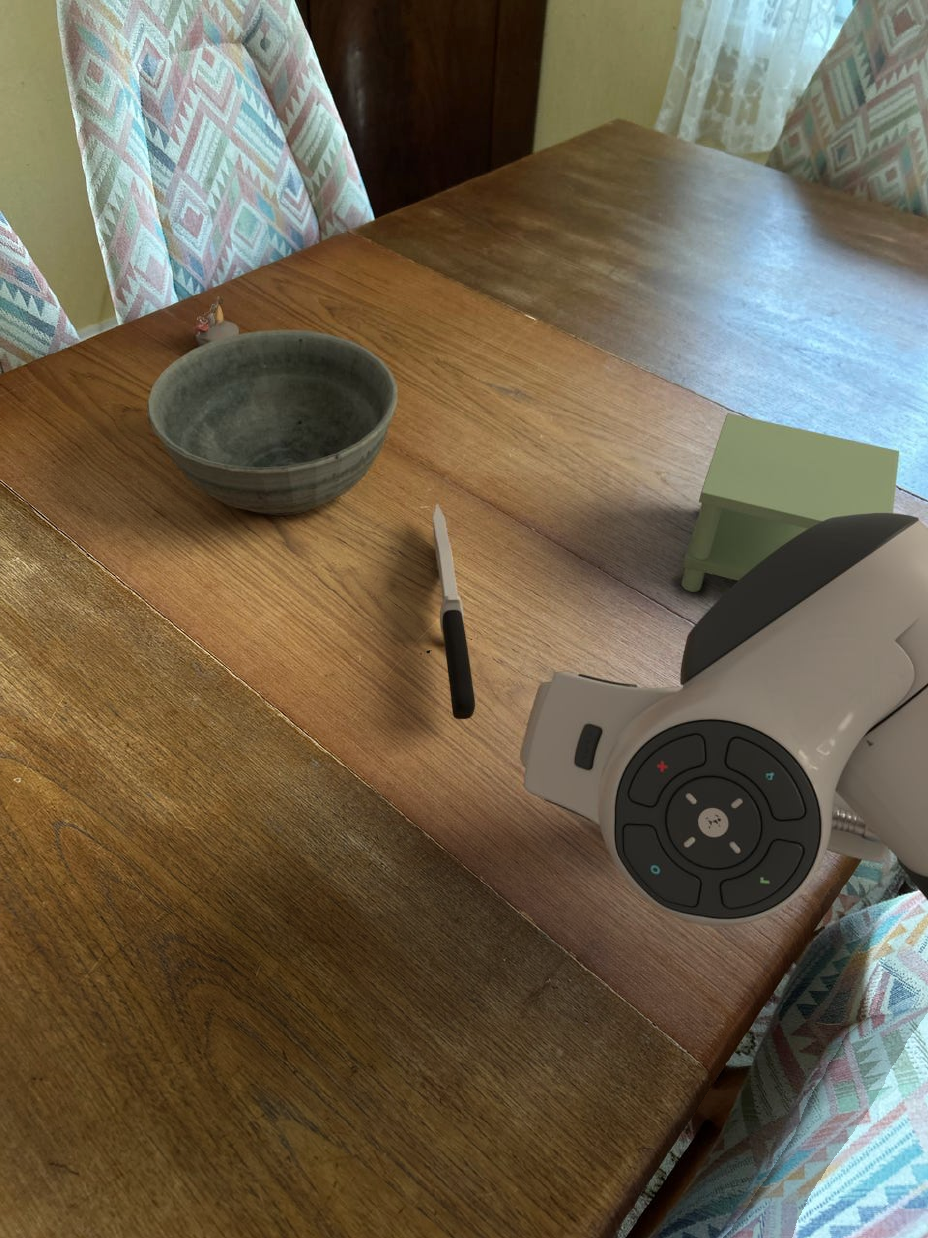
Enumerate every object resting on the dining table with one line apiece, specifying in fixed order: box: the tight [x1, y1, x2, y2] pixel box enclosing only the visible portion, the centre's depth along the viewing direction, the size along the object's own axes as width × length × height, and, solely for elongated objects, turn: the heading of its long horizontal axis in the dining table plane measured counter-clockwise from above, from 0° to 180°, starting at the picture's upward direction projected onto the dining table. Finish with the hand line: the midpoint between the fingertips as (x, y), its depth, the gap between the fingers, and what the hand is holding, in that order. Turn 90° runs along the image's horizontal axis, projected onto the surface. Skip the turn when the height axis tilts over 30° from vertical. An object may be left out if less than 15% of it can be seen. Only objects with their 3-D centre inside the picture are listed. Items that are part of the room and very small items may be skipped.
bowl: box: [147, 329, 399, 516], centre depth 91 cm, size 21×21×10 cm
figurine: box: [195, 294, 240, 347], centre depth 109 cm, size 5×4×6 cm
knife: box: [432, 503, 476, 720], centre depth 81 cm, size 25×2×5 cm, turn 5°
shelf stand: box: [681, 412, 900, 593], centre depth 86 cm, size 14×12×10 cm
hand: (702, 760), depth 65 cm, fingers closed on sprinkles bottle, 4 cm apart
